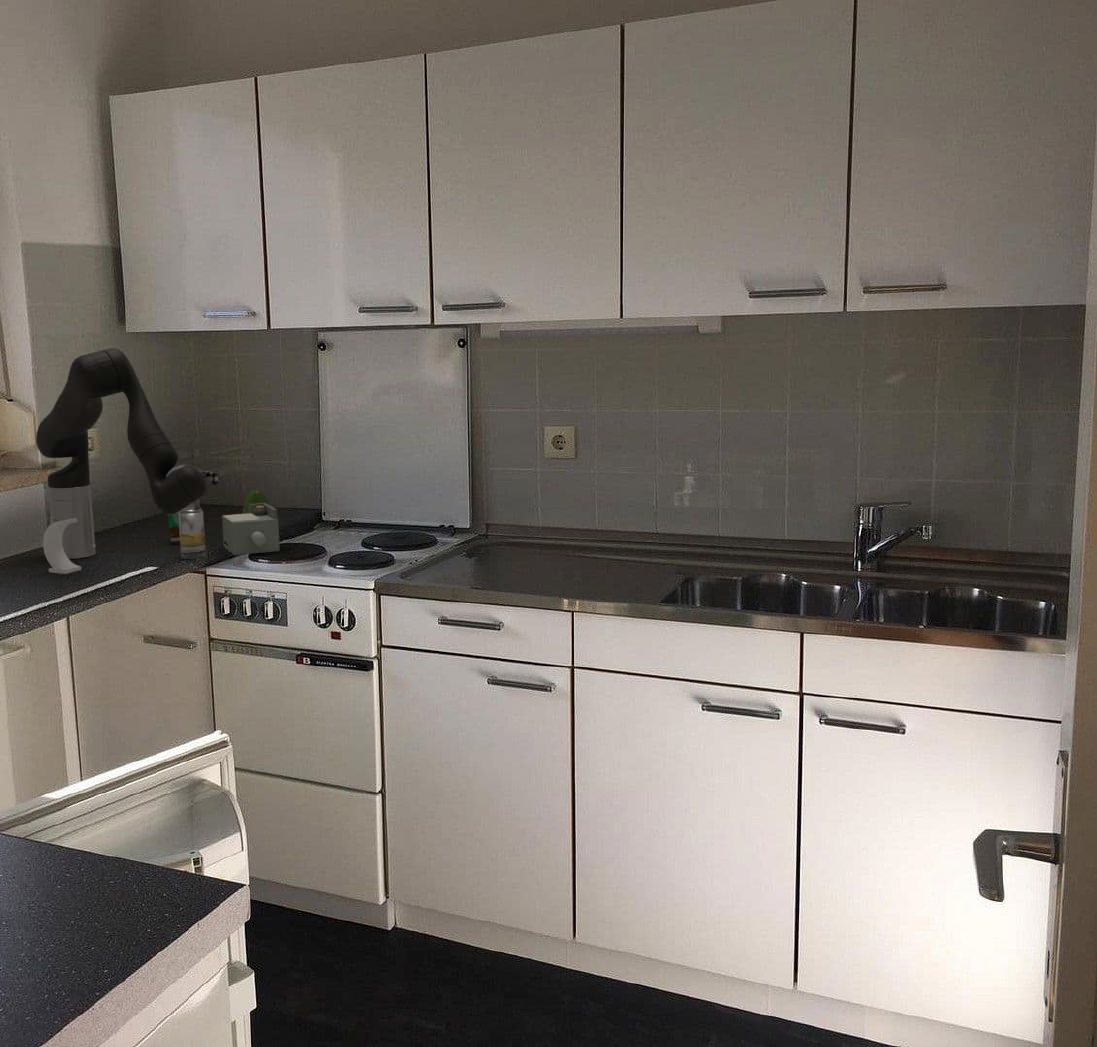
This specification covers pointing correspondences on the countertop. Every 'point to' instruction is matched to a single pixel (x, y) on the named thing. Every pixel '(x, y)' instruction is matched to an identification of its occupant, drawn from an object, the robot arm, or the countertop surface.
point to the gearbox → (252, 530)
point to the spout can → (192, 531)
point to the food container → (176, 526)
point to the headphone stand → (58, 548)
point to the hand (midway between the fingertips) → (187, 476)
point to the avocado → (254, 500)
